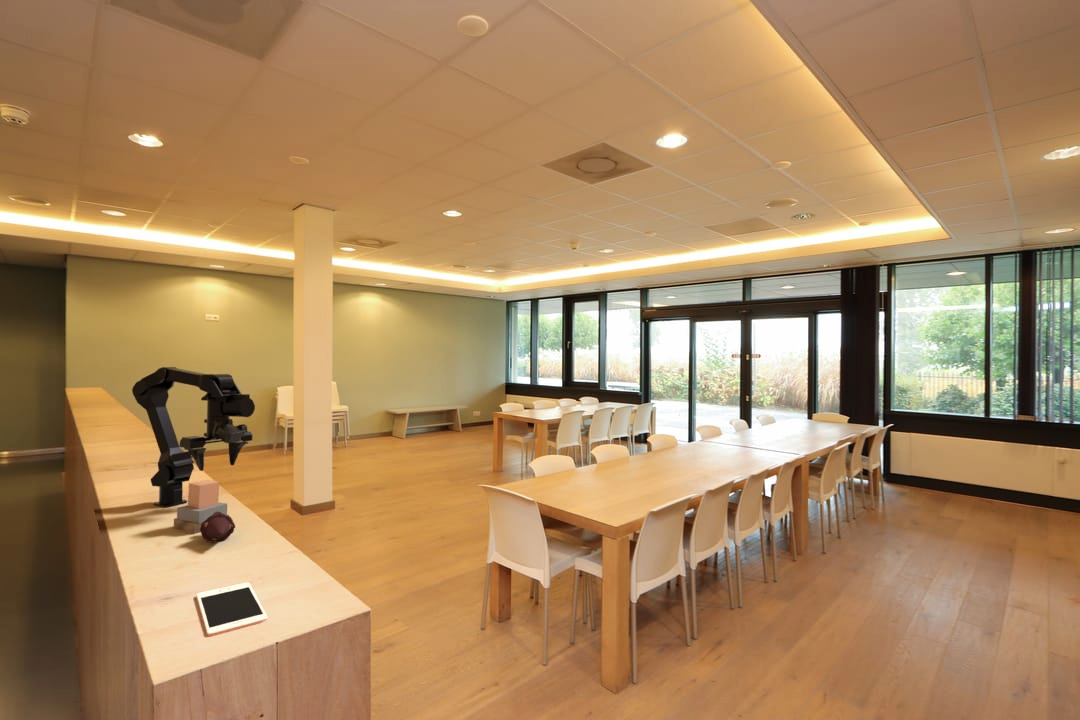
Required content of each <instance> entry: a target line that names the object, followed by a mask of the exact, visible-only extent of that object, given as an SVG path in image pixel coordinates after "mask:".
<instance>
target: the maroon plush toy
mask: <svg viewBox="0 0 1080 720" xmlns="http://www.w3.org/2000/svg"><path fill="white" fill-rule="evenodd" d="M227 515H228V514H227ZM227 515H225V514H222V513H221V512H218V511H217V512H215V513H214V514H213V515H211V516H210V517H208V518H207V519H206V520H205V521H204V522H203V523H202V524H201V528H200V535H201V537H202V539H203V540H205V541H207V542H210V543H218V542H223V541H226V540H227V539H228V538H229V537H230V536H231V535H232V534H233V533H234V532H235V528H236V525H235V522H234V520H233V518H232V517H231V516H230V515H229V516H227Z"/></svg>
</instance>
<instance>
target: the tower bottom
mask: <svg viewBox="0 0 1080 720" xmlns="http://www.w3.org/2000/svg"><path fill="white" fill-rule="evenodd" d="M227 516H230V514H227ZM202 523H203V522H201V523H195V522H189V521H184V520H178V519H177V517H176V518H173V529H174V528H175V530H178V529H179V530H178V531H181V530H182V532H185V531H186V533H188V534H193V535H195V534H199V533H200V534H201V532H200V528H201V524H202Z"/></svg>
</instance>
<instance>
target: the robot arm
mask: <svg viewBox="0 0 1080 720" xmlns="http://www.w3.org/2000/svg"><path fill="white" fill-rule="evenodd" d="M175 383H178V384H179V383H180V384H184V385H190V386H193V387H197V388H198V389H200V391H202V392H205V395H203V396H202V397H201V398H200V401H206V403H207V404H206V410H207V411H206V418H204V420H203V421H204V422H203V423H204V424H206V432H204V433H203V436H197V435H191V436H183V437H181V438H180V440H179V441H178V438H177V435H176V433H175V428H174V427H173V423H172V420H171V417H170V414H169V411H168V408H167V402H168V399H169V396H170V395H169V391H170V390H171V389H172V388H173V387H174V385H175ZM131 390H132V395H133V397H134V400H135V401H136V402H137V404H138V405H139V406H141V407H142V408H143V409H144V410H145V411H146V413H147V417H148V419H149V422H150V425H151V429H152V431H153V434H154V438H155V440H156V444H157V447H158V450H159V452H160V453H159V454H160V455H159V458H158V462H157V468H158V471H157V472H156V473H154V475H153V476H152V477H151V478H150V483H151V486H152V487H157V488H159V490H158V501H154V502H153V504H152V505H154V504H156V505H155V506H158V505H160V506H159V507H162V506H164V507H163V508H167V506H168V507H172V505H173V506H177V505H180V504H184V503H185V502H186V503H188V499H183V487H184V486H183V483H184V482H190V480H191V476H192V473H193V471H194V469H195V467H194V466H195V465H194V464H196V466H197V468H198V470H199V471H200V472H203V471H204V469H205V467H204V466H205V461H204V460H205V455H204V454H205V451H206V450H207V447H205V445H206V444H213V443H221V442H223V443H225V444H228V455H229V457H228V458H229V465H230V466H234V465H235V464H236V461H237V458H238V456H239V454H240V452H241V450H242V448H243V447H244V446H246V445H247V444H249V442H251V441H253V438H254V437H253V436H254V435H253V434H252V432H251V431H250V430H248V425H246V424H245V423H242V424H238V425H234V421H233V417H235V418H236V417H238V418H250V417H251V416H252V415H253V414H254V412H255V409H256V405H255V402H254V400H253V399H252V398H250V396H251V395H250V394H249V393H243V394H242V392H241V390H240V389H239V388H238V386H237V384H236V383H235V380H234V378H233V376H232V375H231V374H229V373H203V372H197V371H192V370H186V369H182V368H177V367H176V366H167V367H165V366H163V367H160V368H158V369H156V371H154V372H153V373H151V374H150V373H149V374H148V375H147V376H144V377H142V378H141V379H140V380H137V382H135V384H134V385H133V387H132V388H131ZM230 417H232V418H230ZM181 448H183V449H184V450H185V451H184V450H183V449H181ZM186 503H185V504H186ZM176 504H177V505H176Z"/></svg>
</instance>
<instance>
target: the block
mask: <svg viewBox="0 0 1080 720" xmlns="http://www.w3.org/2000/svg"><path fill="white" fill-rule="evenodd" d="M219 494H220V481H217V480H216V481H215V480H211V479H205V480H199V481H193V482H189V483H188V495H187V496H188V498H187V505H188V506H191V507H195V508H198V509H199V508H204V507H209V506H213V505H218V502H219V496H220V495H219Z"/></svg>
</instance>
